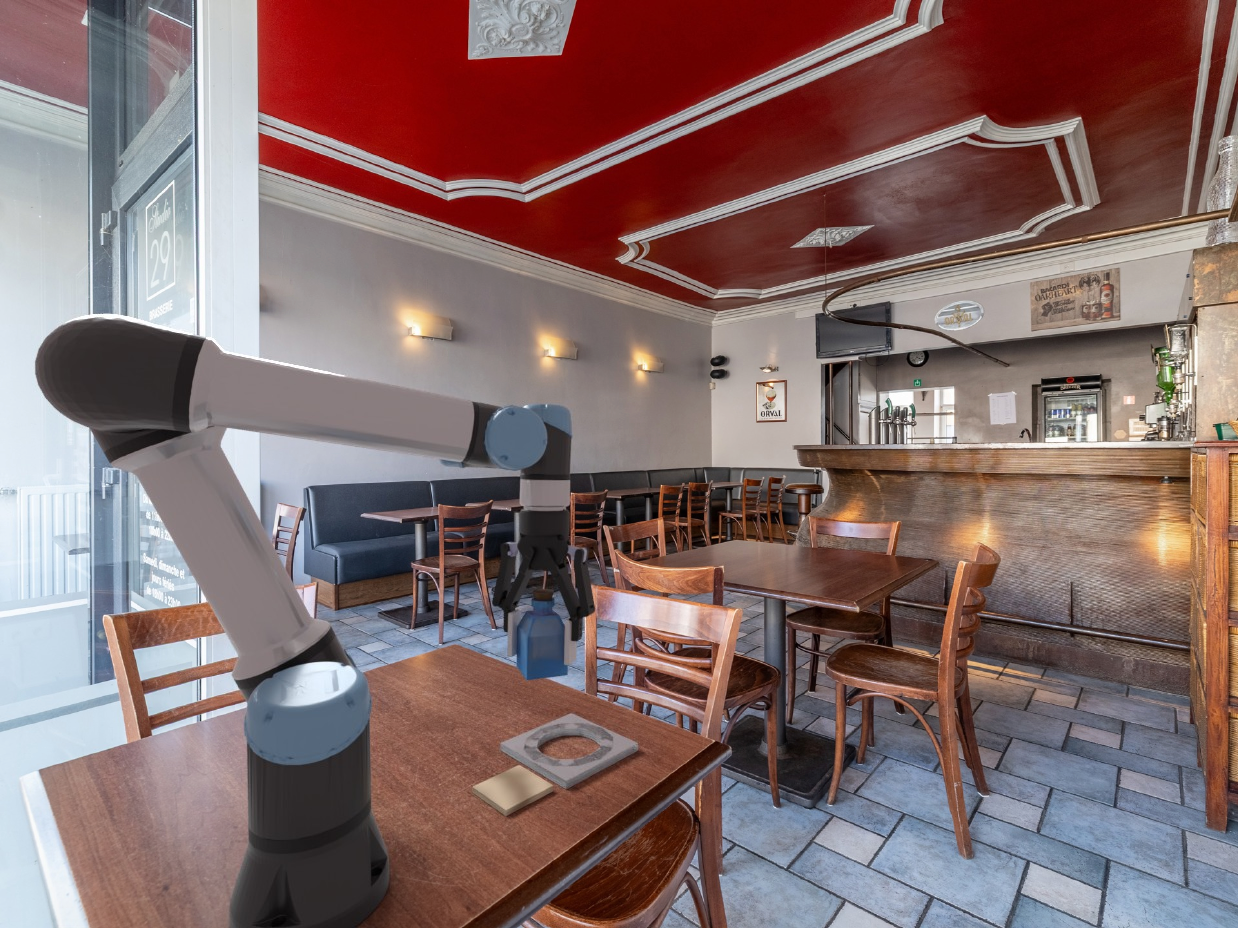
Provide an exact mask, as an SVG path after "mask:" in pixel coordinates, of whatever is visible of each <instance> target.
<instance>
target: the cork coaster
mask: <svg viewBox="0 0 1238 928" xmlns="http://www.w3.org/2000/svg"><path fill="white" fill-rule="evenodd" d="M471 789H472V790H471V791H472V794H474V795H475V796H477V797H478V798H480V799H481V800H483V802H485V803H486V804H488V805H489V806H490V807H492V808H494V809H495V810H497V811H498V812H499V813H501V814H502V815H503V816H505V817H508V816H509V815H511V814H513V813H514V812H517V811H518V810H520V809H523V808H524V807H526V806H528V805H531V804H532V803H534V802H535V801H538V800H539V799H542V798H543V797H545V796H547V795H549V794H550V793H553V792H554V785H553V784H552V783H550V782H549V781H547V780H545V779H543V778H542V777H540V776H539V775H537V774H535V773H533V772H532V771H530V770H529V769H527V768H525V767H523V766H522V765H520V764H518V765H516V766H513V767H512V768H509V769H508V770H505V771H503V772H501V773H499V774H496V775H494V776H492V777H490V778H488V779H485V780H484V781H482V782H479V783H477V784H475V785H473V786H472V788H471Z"/></svg>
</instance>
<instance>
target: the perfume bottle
mask: <svg viewBox="0 0 1238 928" xmlns="http://www.w3.org/2000/svg"><path fill="white" fill-rule="evenodd" d="M532 593H533V594H532V595H533V597H532V598H531V602H530V603H531V605H530V606H531V608H533V609H532V610H526V611H525V613H524V614H523V616H522V617H521V621H520V623H519V624H518V626H517V654H516V666H515V667H516V668H517V669H518V671H519V673H521V675H522V677H523V678H524V679H525V681H533V680H542V679H548V678H557V677H564V676H569V675H568V673H569V665H564V646H565V622H563V620H562V618H561V616H560V614H559V613H557V612H556V611H555V610H554V606H555V598H554V593H555V592H554V590H553V589H550V588H549V589H548V588H537V589H533V590H532Z"/></svg>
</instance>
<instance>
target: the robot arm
mask: <svg viewBox="0 0 1238 928" xmlns="http://www.w3.org/2000/svg"><path fill="white" fill-rule="evenodd" d="M39 346H40V347H39V348H38V350H37V354H36V357H35V361H34V374H35V378H36V383H37V385H38V387H39V389H40V391H41V393H42V394H43V396H44V399H46V401H47V402H48V403H49V404H50V405H51V406H52V407H53V408H54V409H55V410H57V412H58V413H60V415H63V417H64V416H65V417H66V418H67V419H69V420H71V422H73V423H76V424H79V425H82V426H84V427H86V428H89V429H90V431H91V433H92V434H93V436H94V438H95V440H96V442H97V444H98V445H99V447H100V449H101V450H102V452H103V454H104V456H105V458H106V459H107V461H108V462H109V464H110V466H111V467H112V468H115V469H118V470H121V471H124V472H128V473H131V474H133V475H135V476H136V477H137V479H138V481H139V483H140V484H141V486H142V488H143V490H144V492H145V494H146V495H147V498H148V499H149V500H150V502H151V504H152V506H153V508H154V509H155V512H156V513H157V514H158V516H159V519H160V521H162V524H163V525H164V527H165V529H166V530H167V532H168V534H169V536H170V537H171V540H172V542H173V543H174V545H175V547H176V548H177V550H178V551H179V553H180V556H181V557H182V559H183V561H184V562H185V564H186V567H187V568H188V569H189V571H190V573H191V575H192V576H193V578H194V580H195V582H196V584H197V585H198V587H199V589H200V590H201V592H202V594H203V596H204V597H205V599H206V601H207V603H208V605H209V606H210V608H211V610H212V612H213V614H214V615H215V617H216V619H217V621H218V622H219V624H220V627H222V629H223V632H224V633H225V635H226V637H227V639H228V640H229V643H231V645H232V647H233V649H234V651H235V652H236V654H237V660H236V661H235V665H234V667H233V670H232V671H231V677H232V679H233V680H234V682H235V685H236V686H237V687H238V690H239V692H240V693H241V696H242V697H243V698H244V700H245V702H246V703H247V704H246V712H245V715H244V720H243V721H244V722H243V733H244V737H245V738H246V739H245V740H246V763H247V764H246V765H247V766H246V769H247V770H246V772H247V774H246V775H247V777H246V778H247V826H248V827H247V829H248V842H247V847H246V850H245V853H244V856H243V858H242V863H241V865H240V868H239V871H238V875H237V877H236V880H235V883H234V887H233V890H232V893H231V897H230V898H229V899H230V900H229V905H228V916H229V917H228V923H229V924H228V925H229V926H228V927H229V928H356V927H357V926H358V925H360V924H361V923H362V922H363V921H364V920H365V919H367V918H368V917H369V916H370V915H371V914H372V913H373V912H374V911H375V910H376V909H377V907H379V905H380V904H381V902H382V900H383V899H384V897H385V895H386V894H387V891H388V888H389V884H390V876H391V875H390V873H391V872H390V856H389V851H388V849H387V846H386V844H385V840H384V839H383V838H384V837H382V833H381V831H380V828H379V826H378V823H377V821H376V819H375V815H374V813H373V810H372V766H371V765H372V763H371V714H372V713H371V712H372V708H373V706H372V704H373V703H372V702H373V700H372V695H371V692H370V686H369V681H368V679H367V677H366V675H365V674H364V673H363V671H361V670H360V669H359V668H358V667H357V665H356V663H355V660H354V659H353V657H352V655H350V654H348V652H347V650H345V649H344V648H343V646H342V643H341V642H340V640H339V639H338V637H337V635H336V633H335V631H334V628H333V627H332V625H331V623H330V622H329V621H327V620H322V619H319V618H314V617H312V616H311V614H310V612H309V610H308V609H307V607H306V604H305V603H304V601H303V600H302V597H301V595H300V594H299V592H298V590H297V588H296V586H295V584H294V583H293V580H292V578H291V577H290V574H289V573H288V571H287V569H286V567H285V565H284V563H283V561H282V560H281V558H280V556H279V554H278V552H277V549H275V546H274V545H273V543H272V540H271V539H270V536H269V535H268V533H267V531H266V530H265V528H264V526H263V524H262V522H261V520H260V518H259V516H258V514H257V512H256V510H255V509H254V507H253V504H252V503H251V500H250V499H249V497H248V496H247V493H246V492H245V490H244V487H243V486H242V484H241V482H240V480H239V478H238V476H237V474H236V473H235V470H234V469H233V467H232V466H231V463H230V461H229V460H228V457H227V455H226V454H225V452H224V450H223V448H222V447H221V445H222V441H223V438H224V436H225V433H226V431H227V429H232V430H239V431H246V432H247V431H248V432H253V433H261V434H267V435H274V436H281V437H287V438H294V439H302V440H307V441H313V442H321V443H322V442H323V443H328V444H333V445H334V444H335V445H342V446H348V447H355V448H363V449H369V450H374V451H375V450H376V451H381V452H382V451H383V452H388V453H389V452H390V453H396V454H404V455H411V456H417V457H423V458H431V459H437V460H439V462H440V464H441V465H442V466H444V467H449V468H450V467H451V468H459V469H465V468H480V469H481V468H482V469H498V470H499V469H501V470H505V471H514V472H515V471H520V474H519V478H520V481H519V505H520V506H522V507H523V508H521V509H520V511H519V519H518V520H519V521H518V523H519V528H518V531H519V539H518V541H517V542H514V541H508V542H504V543H501V544H500V545H499V549H500V558H501V559H500V563H499V568H498V572H497V578H496V580H495V581H496V582H495V586H494V591H493V595H492V600H491V604H492V606H493V607H496V608H497V607H498V608H500V609H501V610H502V612H503V625H502V626H503V632H504V633H507V648H506V649H507V657H511V658H512V657H514V656H515V655H516V656H517V626H518V624H519V623H520V621H521V619H522V609H517V608H519V603H520V600H521V599H522V597H523V595H524V592H525V590H526V588H527V586H528V584H529V582H530V579H531V577H532V576H533V574H534V572H535V571H539V570H542V571H544V572H550V575H551V577H552V578H553V579H554V580H555V583H556V585H557V588H558V591H559V593H560V595H561V598H562V600H563V603H564V605H565V607H566V610H567V613H568V615H569V617H567V618H566V619H564V625H565V646H564V665H568V666H570V665H572V663H575V661H577V643H578V642H579V641H580V640H582V637H583V620H584V618H588V617H589V616H591V615H593V614H594V613H595V612H596V605H595V600H594V593H593V588H592V582H591V577H590V572H589V571H590V570H589V565H588V560H589V559H588V558H589V553H590V549H589V547H587V546H583V547H578V546H574V545H572V544H571V542H570V539H569V538H570V537H569V536H570V526H571V525H570V520H571V519H570V517H571V515H570V513H571V512H570V511H569V509H567V507H569V506H570V504H571V461H572V457H571V456H572V439H573V431H572V430H573V429H572V428H573V426H572V424H573V423H572V416H571V415H572V414H571V411H570V410H569V408H568V407H566V406H563V405H560V404H559V405H558V404H545V403H544V404H543V403H537V404H536V403H530V404H526V405H524V406H517V405H506V406H505V405H504V406H500V405H495V404H494V405H493V404H490V403H489V404H488V403H485V402H477V401H471V400H469V399H465V398H459V397H456V396H455V397H454V396H449V395H444V394H440V393H435V392H431V391H424V390H420V389H415V388H409V387H404V386H398V385H394V384H388V383H385V382H379V381H376V380H369V379H365V378H360V377H355V376H349V375H344V374H339V373H334V372H329V371H324V370H319V369H315V368H310V367H306V366H301V365H294V364H290V363H285V362H279V361H275V360H269V359H265V358H259V357H254V356H249V355H244V354H239V353H235V352H229V351H225V350H224V349H223V348H222V347H221V346H220V345H219V344H218V343H217V341H216V340H215V339H214V338H212V337H208V336H204V335H198V334H193V333H191V332H190V333H189V332H186V331H185V332H184V331H181V330H177V329H173V328H170V327H167V326H162V325H158V324H154V323H151V322H148V321H144V320H141V319H137V318H133V317H130V316H127V315H119V314H112V313H103V314H102V313H100V314H99V313H98V314H97V313H96V314H88V315H83V316H80V317H77V318H73V319H70V320H68V321H66V322H64V323H62V324H60V325H59V326H58V327H56V328H55V329H54V330H53V331H51V332H50V333H49V334H48V335H47V336H46V337H45V338H44V340H43V341H42V343H41V344H40V345H39ZM518 553H520V555H521V557H522V558H523V559H522V561H521V563H520V566H519V568H518V573H517V575H516V577H515V579H514V581H513V583H512V579H513V574H514V569H515V565H516V559H517V556H518ZM568 556H570V561H572V562H573V563H572V564H573V572H574V578H575V584H576V588H575V586H574V584H573V581H572V578H571V576H570V574H569V568H568V565H567V563H566V561H565V560H566V559H567V558H568ZM511 583H512V585H511ZM576 590H577V591H576Z"/></svg>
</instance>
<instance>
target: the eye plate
mask: <svg viewBox="0 0 1238 928" xmlns="http://www.w3.org/2000/svg"><path fill="white" fill-rule="evenodd" d="M565 736H567V737H574V736H579V737H583V738H587V739H590V740H592V741H594V742H596V744H598V745H599V747H598V748H597V749H596V750H595V751H594V752H592V753H590V754H587V755H585V756H581V757H578V758H568V759H567V758H565V759H564V758H560V759H559V758H555V757H552V756H549V755H546V754H544V753H542V751H540V748H539V747H540V746H542V745H543V744H545V743H546V742H548V741H551V740H553V739H557V738H561V737H565ZM638 751H639V743H638V742H637V741H635V740H632V739H630V738H628V737H625V736H623V735H622V734H618V733H616V732H615V731H613V730H609V729H608V728H605V727H603V726H601V725H599V724H596V723H594V722H593V721H590V720H587V719H585V718H584V717H582V716H578V715H577V714H575V713H572V712H571V713H569V714H566V715H564V716H561V717H559V718H557V719H554V720H552V721H549V722H547V723H544V724H542V725H540V726H537V727H535V728H533V729H530V730H528V731H526V732H524V733H523V732H522V733H521V734H518V735H517V736H514V737H511V738H509V739H507V740H504V741H502V742H500V752H503V753H504V754H506V755H507V756H508V757H511V758H512V759H514V760H516V761H518V762H519V763H521V764H523V765H524V766H526V767H528V768H529V769H532V770H533V771H535V772H536V773H538V774H539V775H541V776H542V777H545V778H547V779H548V780H550V781H551V782H553V783H555V784H556V785H558V786H560V787H561V788H563V789H565V790H567V789H569V788H571V787H573V786H575V785H577V784H579V783H581V782H583V781H585V780H586V779H588V778H590V777H591V776H594V775H596V774H598V773H599V772H601V771H602V770H605V769H607V768H608V767H611V766H613V765H614V764H616V763H618V762H620V761H622V760H623V759H625V758H627V757H629V756H631V755H633V754H635V753H637V752H638Z"/></svg>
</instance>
